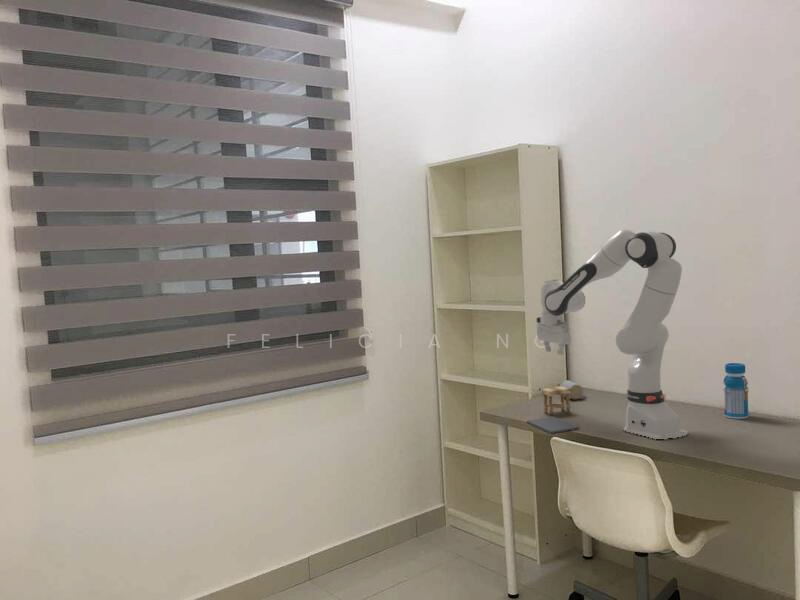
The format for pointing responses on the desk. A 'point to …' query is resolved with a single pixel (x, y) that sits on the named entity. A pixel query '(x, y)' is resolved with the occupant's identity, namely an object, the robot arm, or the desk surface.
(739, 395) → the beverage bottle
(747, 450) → the desk surface
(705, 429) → the desk surface
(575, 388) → the ceramic mug
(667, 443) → the desk surface
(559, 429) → the charcoal mat
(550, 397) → the oak stool
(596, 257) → the robot arm
